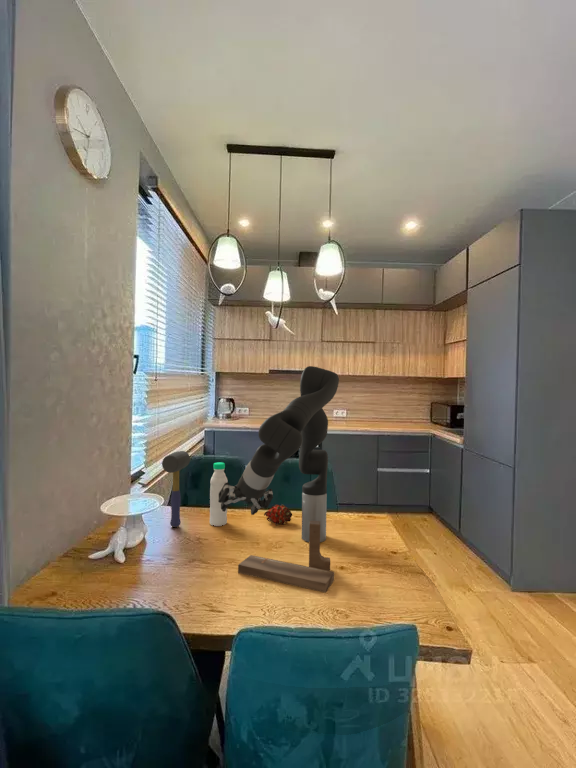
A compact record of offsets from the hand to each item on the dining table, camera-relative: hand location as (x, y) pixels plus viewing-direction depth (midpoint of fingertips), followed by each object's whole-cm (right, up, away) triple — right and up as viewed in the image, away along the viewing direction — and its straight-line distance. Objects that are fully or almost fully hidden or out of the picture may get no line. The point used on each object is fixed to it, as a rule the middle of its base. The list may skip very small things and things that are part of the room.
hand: (237, 510), depth 118 cm
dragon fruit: (+10, -22, +53) cm, 59 cm away
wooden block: (+24, -22, +10) cm, 34 cm away
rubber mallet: (-31, -21, +47) cm, 60 cm away
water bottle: (-14, -22, +52) cm, 58 cm away
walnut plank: (+14, -22, +6) cm, 26 cm away
